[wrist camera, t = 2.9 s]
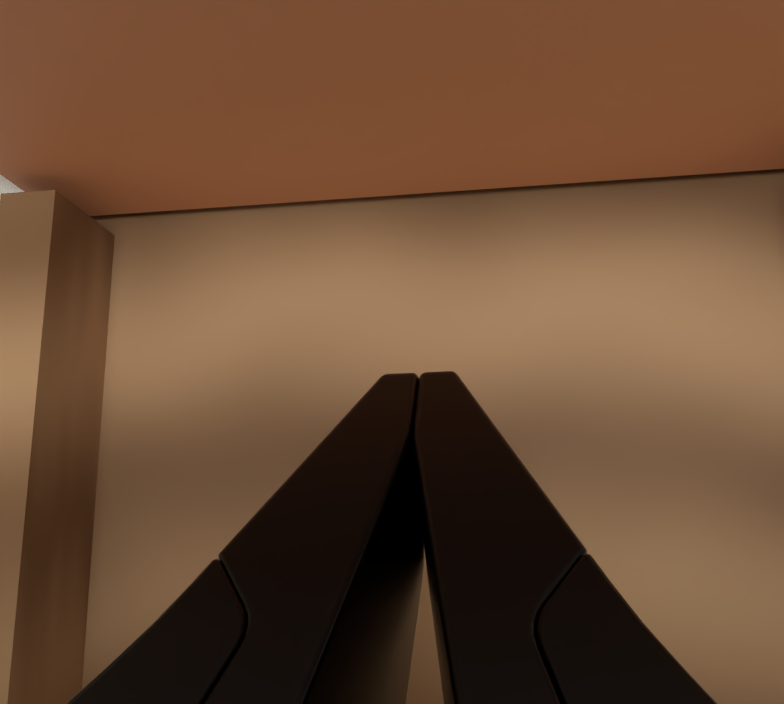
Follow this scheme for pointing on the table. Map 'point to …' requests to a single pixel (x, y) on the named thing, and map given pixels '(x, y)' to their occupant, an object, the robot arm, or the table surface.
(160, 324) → the brown shallow open box
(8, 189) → the table surface
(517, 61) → the tailgate
